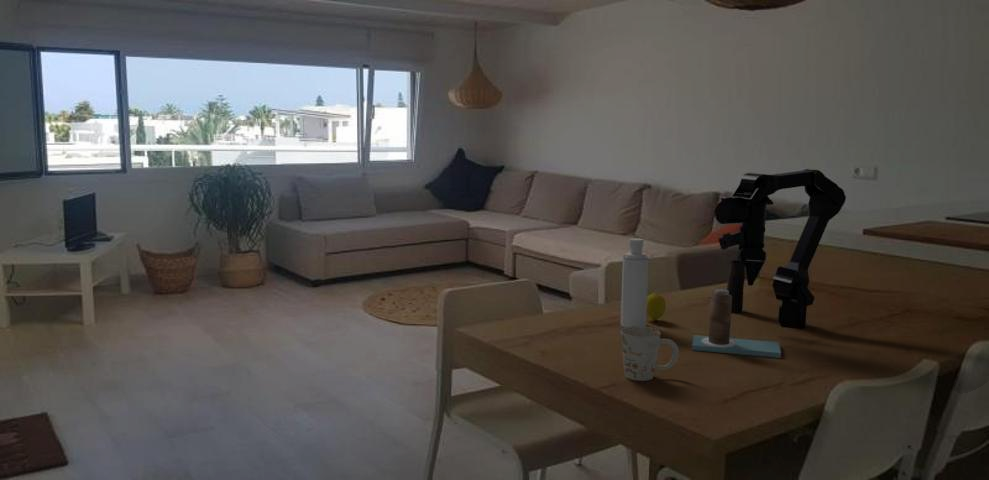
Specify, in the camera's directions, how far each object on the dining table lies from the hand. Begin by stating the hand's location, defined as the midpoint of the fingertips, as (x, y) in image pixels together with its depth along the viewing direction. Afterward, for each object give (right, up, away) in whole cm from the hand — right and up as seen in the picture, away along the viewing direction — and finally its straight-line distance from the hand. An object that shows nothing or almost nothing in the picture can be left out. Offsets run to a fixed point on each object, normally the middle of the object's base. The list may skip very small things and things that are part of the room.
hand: (749, 281), depth 196 cm
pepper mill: (-12, -14, -14) cm, 23 cm away
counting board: (-8, -15, -14) cm, 22 cm away
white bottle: (-29, -12, +6) cm, 32 cm away
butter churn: (+2, -10, +22) cm, 24 cm away
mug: (-33, -19, -34) cm, 51 cm away
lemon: (-22, -12, +11) cm, 27 cm away
